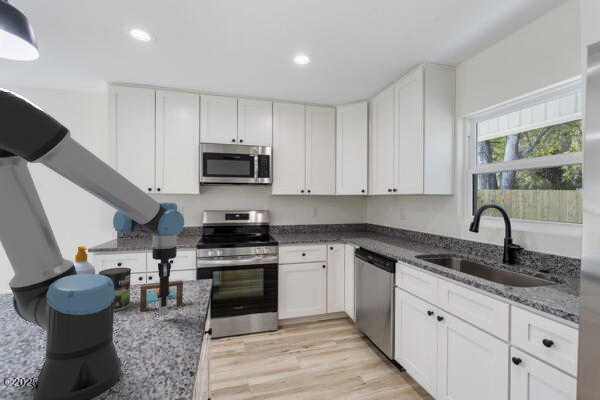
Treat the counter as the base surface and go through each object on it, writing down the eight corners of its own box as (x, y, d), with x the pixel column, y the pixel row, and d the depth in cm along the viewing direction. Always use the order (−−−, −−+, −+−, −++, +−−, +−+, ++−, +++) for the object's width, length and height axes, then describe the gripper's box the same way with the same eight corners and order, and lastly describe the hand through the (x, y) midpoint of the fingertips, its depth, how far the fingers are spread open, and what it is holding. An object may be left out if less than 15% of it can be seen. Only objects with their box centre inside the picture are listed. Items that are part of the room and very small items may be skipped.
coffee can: (136, 302, 108) (136, 267, 108) (118, 312, 98) (119, 274, 98) (111, 301, 108) (111, 266, 109) (90, 312, 98) (91, 273, 98)
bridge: (182, 305, 106) (182, 281, 106) (140, 311, 99) (140, 287, 99) (181, 302, 109) (182, 279, 109) (140, 308, 102) (140, 284, 102)
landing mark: (176, 297, 114) (176, 297, 114) (144, 302, 108) (144, 302, 108) (174, 289, 124) (174, 289, 124) (144, 293, 118) (144, 293, 118)
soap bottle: (68, 317, 93) (70, 249, 93) (61, 310, 99) (63, 246, 99) (98, 310, 100) (100, 246, 100) (90, 303, 106) (92, 243, 106)
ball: (166, 282, 118) (166, 295, 117) (153, 285, 113) (153, 298, 113) (173, 284, 115) (173, 297, 114) (160, 287, 110) (160, 300, 110)
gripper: (178, 248, 89) (176, 319, 89) (175, 243, 100) (173, 306, 100) (152, 250, 85) (150, 324, 85) (152, 244, 97) (150, 309, 96)
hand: (163, 314), depth 93 cm, fingers closed
